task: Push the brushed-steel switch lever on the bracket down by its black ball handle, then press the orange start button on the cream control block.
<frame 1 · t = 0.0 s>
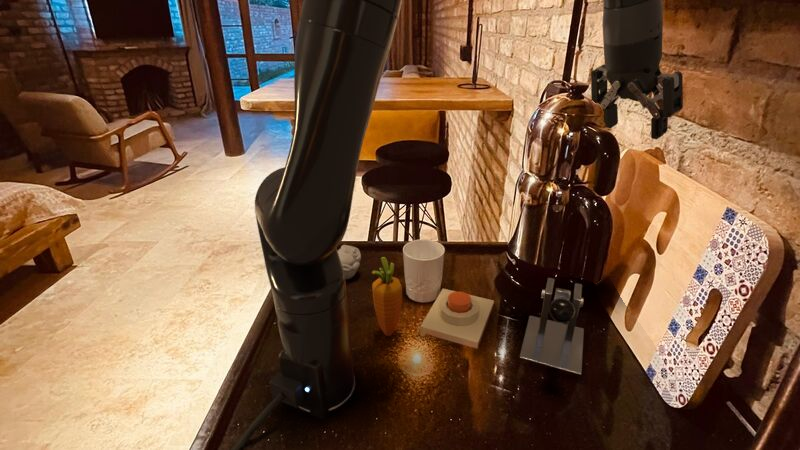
hand: (633, 131, 68), 31 cm above the kitchen counter, tool tilted 20°, fingers open, 8 cm apart
white cup: (423, 293, 81), on the kitchen counter
frog figurine: (346, 277, 87), on the kitchen counter
lever: (561, 303, 58), point 12 cm above the kitchen counter, hinge at 25.0°
carrot: (388, 336, 70), on the kitchen counter
control block: (458, 322, 73), on the kitchen counter
bracket: (552, 347, 67), on the kitchen counter
button: (459, 302, 71), point 4 cm above the kitchen counter, slide at 0.1 cm
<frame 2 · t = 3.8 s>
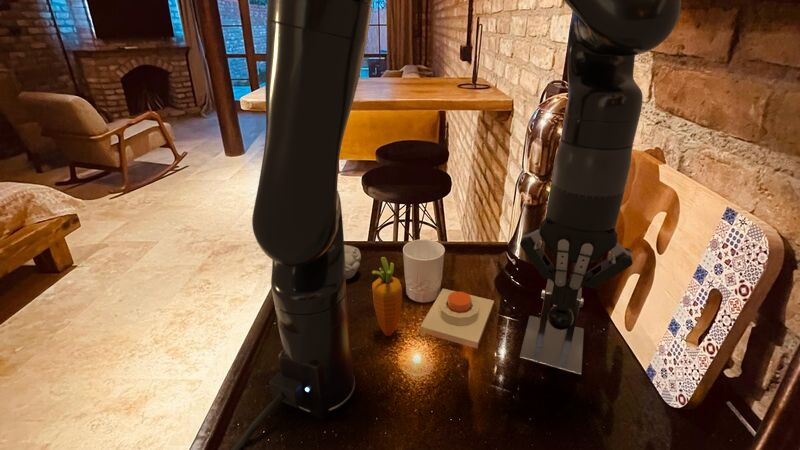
hand: (562, 307, 53), 15 cm above the kitchen counter, tool pointing down, fingers closed
lever: (561, 307, 58), point 12 cm above the kitchen counter, hinge at 19.4°
everything else where it was.
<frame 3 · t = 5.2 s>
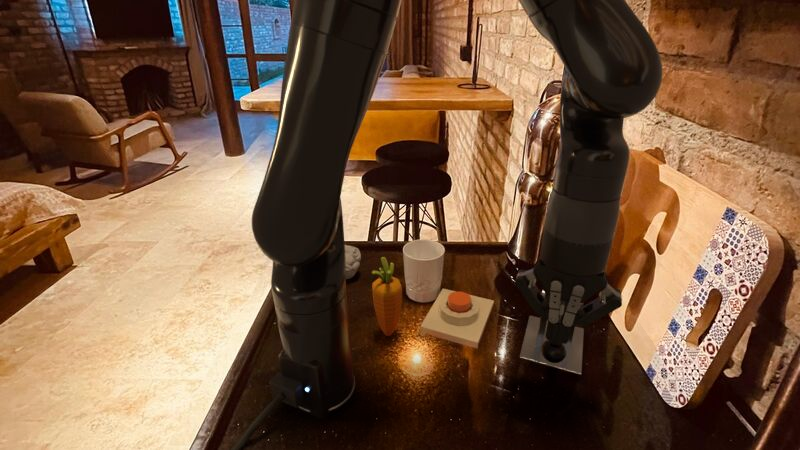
hand: (556, 341, 55), 9 cm above the kitchen counter, tool pointing down, fingers closed
lever: (557, 323, 59), point 9 cm above the kitchen counter, hinge at -12.4°
everything else where it was.
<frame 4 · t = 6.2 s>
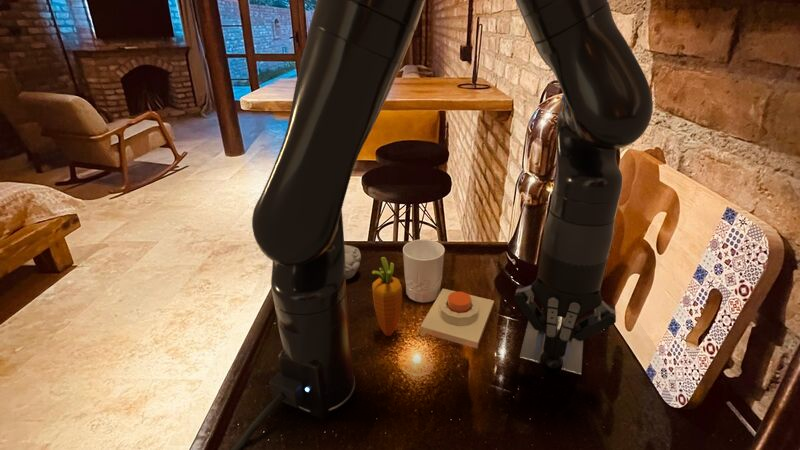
hand: (553, 354, 57), 6 cm above the kitchen counter, tool pointing down, fingers closed
lever: (556, 329, 60), point 7 cm above the kitchen counter, hinge at -32.0°, touching gripper
everything else where it was.
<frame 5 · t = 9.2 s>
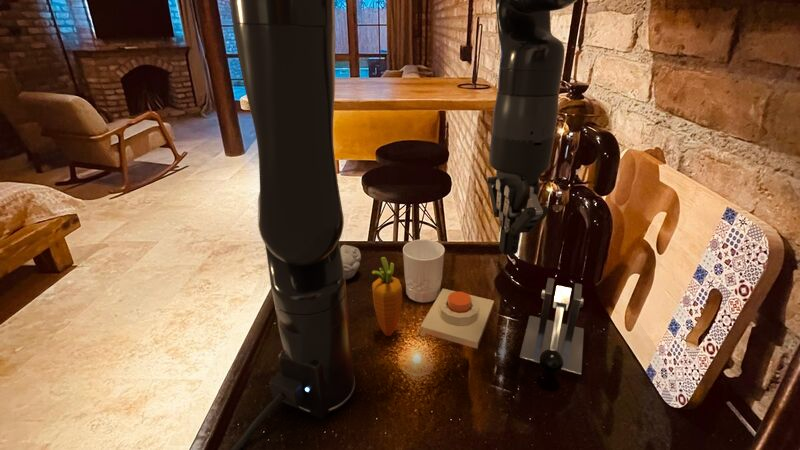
hand: (508, 252, 58), 19 cm above the kitchen counter, tool pointing down, fingers closed
lever: (556, 328, 60), point 7 cm above the kitchen counter, hinge at -30.5°
everything else where it was.
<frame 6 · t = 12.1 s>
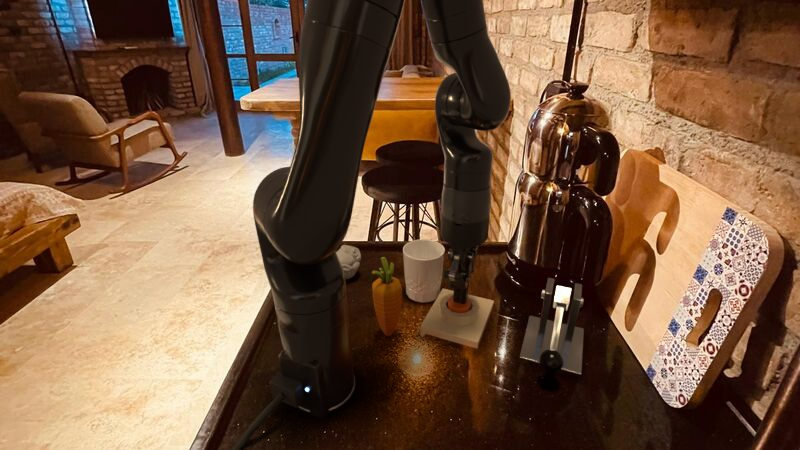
hand: (460, 300, 71), 5 cm above the kitchen counter, tool pointing down, fingers closed
button: (459, 305, 71), point 4 cm above the kitchen counter, slide at -0.5 cm, touching gripper
everything else where it was.
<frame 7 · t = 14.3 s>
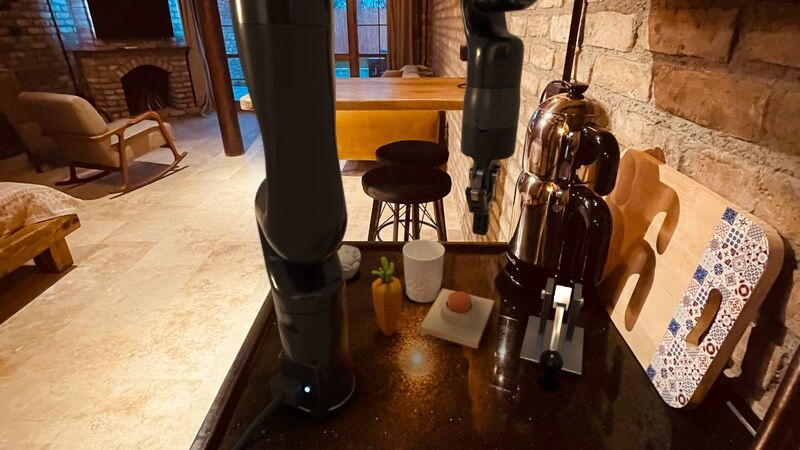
hand: (480, 232, 63), 19 cm above the kitchen counter, tool pointing down, fingers closed
button: (459, 302, 71), point 4 cm above the kitchen counter, slide at 0.1 cm
everything else where it was.
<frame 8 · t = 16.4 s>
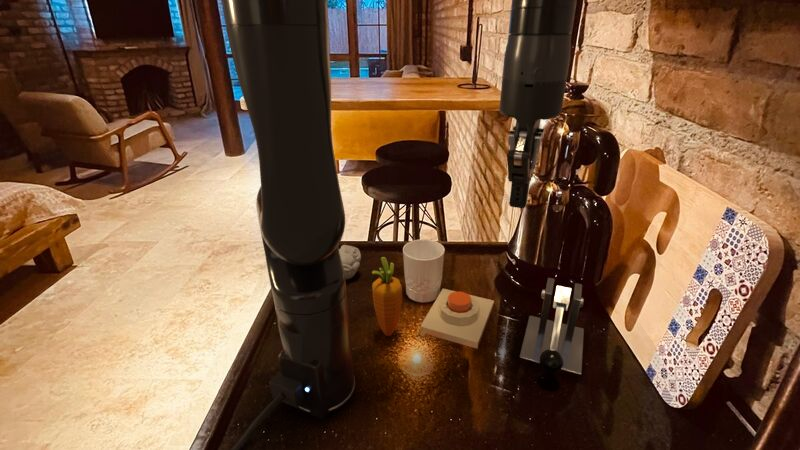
hand: (517, 205, 57), 25 cm above the kitchen counter, tool pointing down, fingers closed
nothing on the kitchen counter moved.
at the end: lever at -30° (first picture: +25°); button pushed in 1.1 cm at the most during the clip, back to where it started at the end; button slide at 0.1 cm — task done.
